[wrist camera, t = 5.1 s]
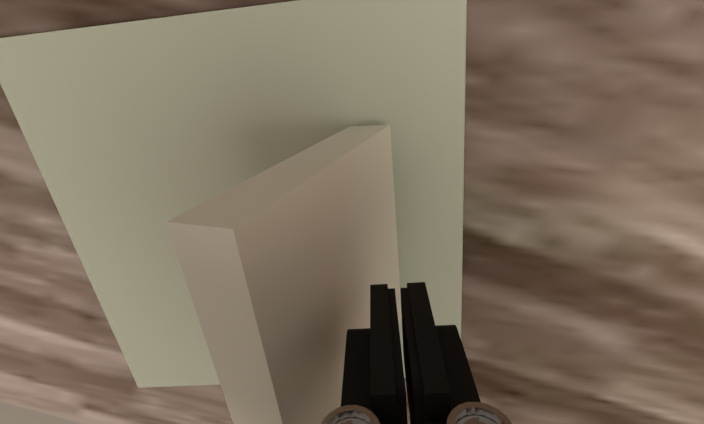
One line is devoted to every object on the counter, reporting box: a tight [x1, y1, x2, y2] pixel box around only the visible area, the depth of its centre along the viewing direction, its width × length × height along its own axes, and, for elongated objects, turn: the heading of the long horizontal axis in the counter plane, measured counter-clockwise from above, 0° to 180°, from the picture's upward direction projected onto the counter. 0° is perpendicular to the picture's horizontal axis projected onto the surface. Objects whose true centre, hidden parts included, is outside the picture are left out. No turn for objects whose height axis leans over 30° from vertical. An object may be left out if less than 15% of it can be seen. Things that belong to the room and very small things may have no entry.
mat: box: [0, 0, 467, 388], centre depth 19 cm, size 20×20×1 cm
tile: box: [166, 125, 402, 424], centre depth 14 cm, size 2×10×10 cm, turn 6°
